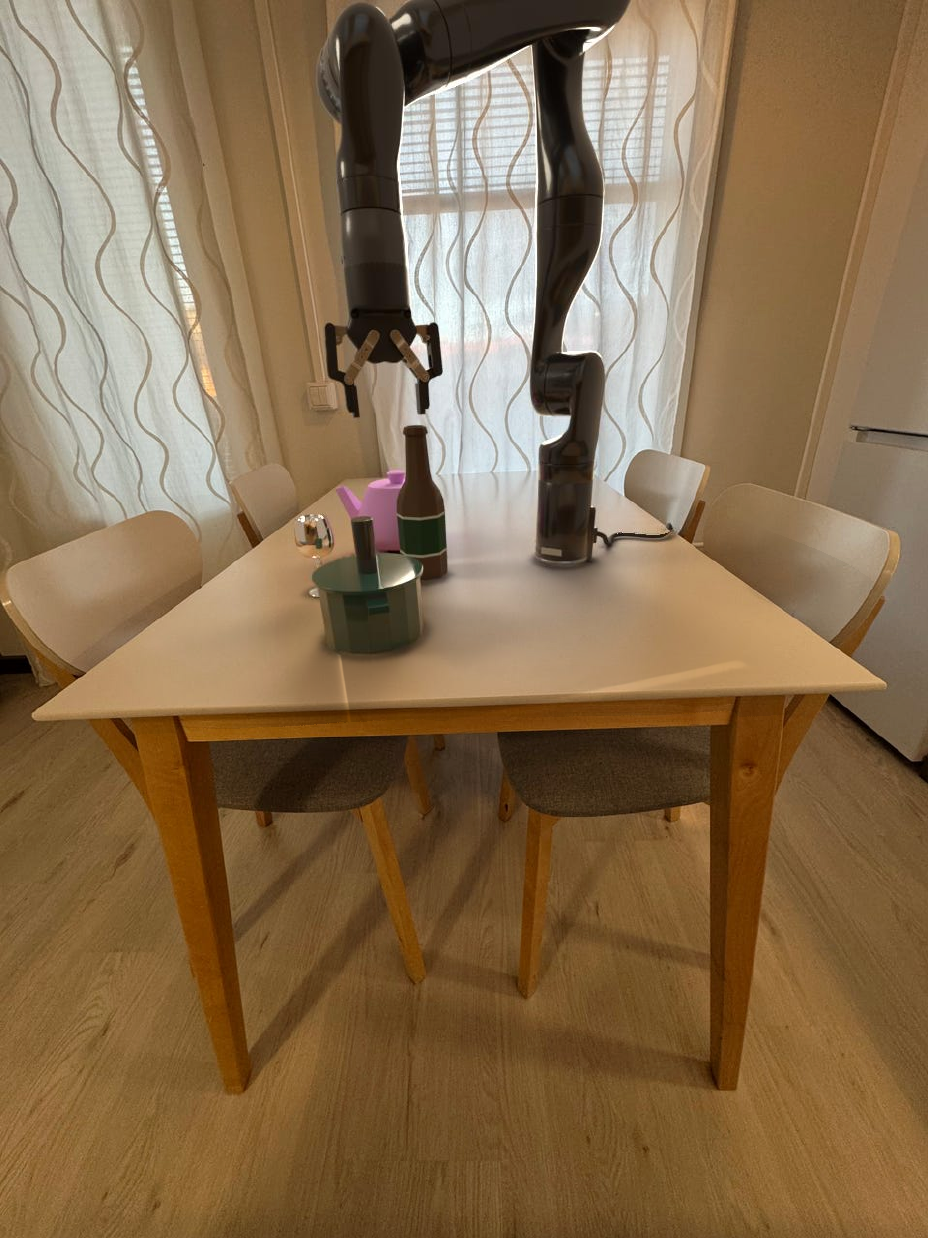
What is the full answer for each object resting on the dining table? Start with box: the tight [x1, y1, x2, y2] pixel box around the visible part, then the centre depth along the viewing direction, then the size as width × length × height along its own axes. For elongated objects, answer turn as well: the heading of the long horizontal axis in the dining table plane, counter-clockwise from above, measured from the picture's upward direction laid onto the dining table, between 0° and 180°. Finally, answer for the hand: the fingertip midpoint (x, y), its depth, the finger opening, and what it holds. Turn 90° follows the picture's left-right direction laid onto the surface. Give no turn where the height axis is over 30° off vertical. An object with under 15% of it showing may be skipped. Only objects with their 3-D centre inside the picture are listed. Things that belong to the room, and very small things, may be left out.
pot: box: [318, 578, 425, 655], centre depth 64 cm, size 13×18×8 cm
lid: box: [310, 516, 423, 595], centre depth 61 cm, size 14×14×8 cm
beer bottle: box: [397, 424, 448, 582], centre depth 80 cm, size 8×8×24 cm
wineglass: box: [294, 513, 335, 598], centre depth 78 cm, size 6×6×12 cm
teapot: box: [335, 469, 406, 553], centre depth 98 cm, size 20×20×15 cm
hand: (389, 415), depth 65 cm, fingers open, 8 cm apart
